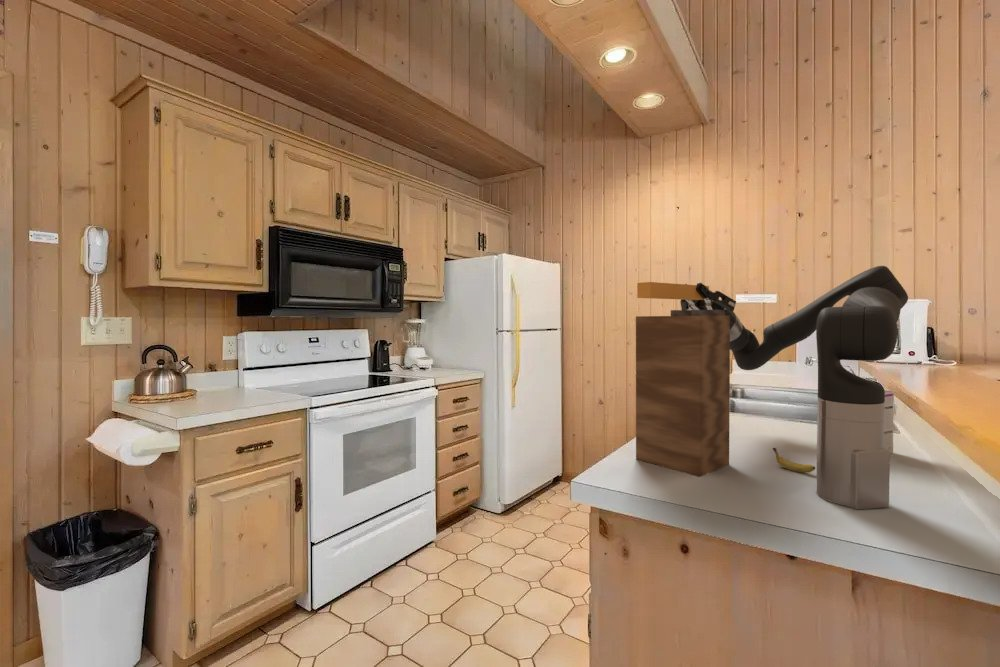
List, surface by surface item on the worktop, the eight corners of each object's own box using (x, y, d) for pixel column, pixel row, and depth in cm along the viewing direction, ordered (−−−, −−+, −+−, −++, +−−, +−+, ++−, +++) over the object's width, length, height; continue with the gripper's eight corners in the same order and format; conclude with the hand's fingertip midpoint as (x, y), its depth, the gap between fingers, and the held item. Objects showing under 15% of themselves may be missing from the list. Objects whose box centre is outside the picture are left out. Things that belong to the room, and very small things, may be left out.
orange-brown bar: (696, 299, 115) (696, 286, 115) (708, 299, 112) (709, 286, 112) (637, 297, 100) (637, 282, 100) (650, 297, 98) (650, 281, 98)
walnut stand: (666, 449, 112) (666, 311, 110) (729, 464, 100) (729, 309, 99) (636, 459, 104) (635, 311, 103) (699, 476, 92) (700, 309, 91)
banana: (770, 466, 99) (770, 448, 99) (774, 465, 100) (775, 446, 99) (813, 477, 92) (813, 457, 92) (817, 475, 93) (817, 456, 93)
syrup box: (894, 453, 107) (895, 390, 106) (878, 456, 105) (879, 392, 104) (867, 446, 112) (867, 386, 112) (851, 449, 110) (851, 388, 110)
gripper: (746, 335, 113) (715, 298, 104) (691, 334, 124) (659, 300, 115) (753, 308, 115) (723, 270, 106) (699, 310, 126) (668, 275, 117)
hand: (690, 286), depth 110 cm, fingers closed on orange-brown bar, 3 cm apart
